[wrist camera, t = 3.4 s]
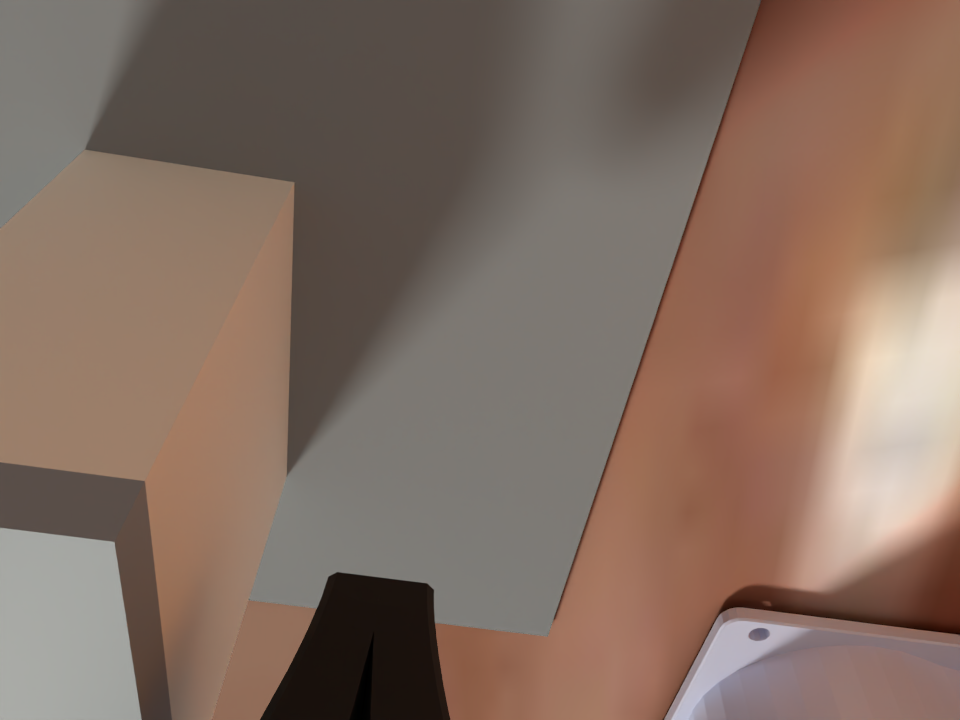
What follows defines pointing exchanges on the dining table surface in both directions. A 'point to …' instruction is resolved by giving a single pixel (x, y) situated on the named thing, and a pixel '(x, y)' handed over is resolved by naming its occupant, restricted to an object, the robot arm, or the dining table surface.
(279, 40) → the mat
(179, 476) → the beige rectangular block
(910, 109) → the dining table surface
